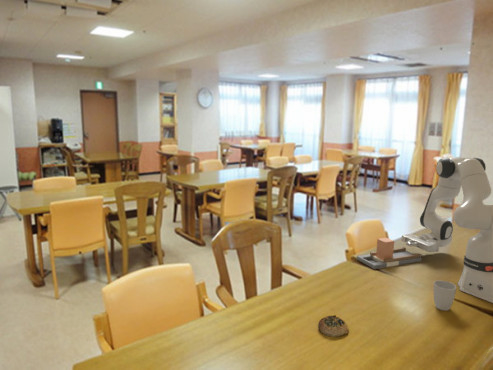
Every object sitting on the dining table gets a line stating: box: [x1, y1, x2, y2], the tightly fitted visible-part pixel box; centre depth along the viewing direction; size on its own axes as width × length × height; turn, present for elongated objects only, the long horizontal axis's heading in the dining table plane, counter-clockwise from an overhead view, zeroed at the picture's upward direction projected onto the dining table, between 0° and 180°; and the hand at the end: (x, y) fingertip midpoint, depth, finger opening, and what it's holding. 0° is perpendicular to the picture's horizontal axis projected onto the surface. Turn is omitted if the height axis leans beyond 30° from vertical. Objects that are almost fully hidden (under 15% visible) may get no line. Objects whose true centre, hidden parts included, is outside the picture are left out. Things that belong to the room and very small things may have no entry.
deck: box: [356, 246, 423, 270], centre depth 200 cm, size 14×32×4 cm, turn 111°
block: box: [376, 237, 395, 260], centre depth 198 cm, size 6×6×10 cm
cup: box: [433, 280, 457, 312], centre depth 150 cm, size 8×8×10 cm
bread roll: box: [317, 314, 350, 338], centre depth 134 cm, size 11×11×5 cm
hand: (407, 244), depth 204 cm, fingers closed
